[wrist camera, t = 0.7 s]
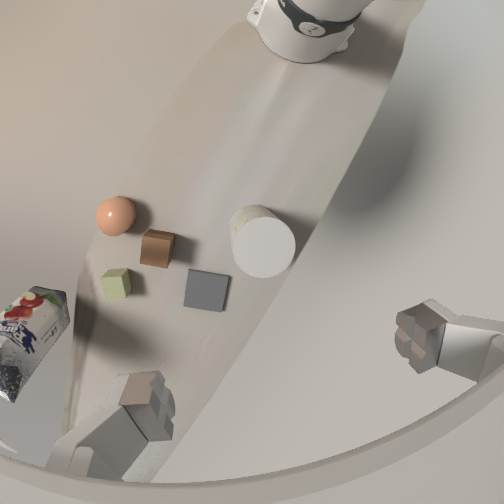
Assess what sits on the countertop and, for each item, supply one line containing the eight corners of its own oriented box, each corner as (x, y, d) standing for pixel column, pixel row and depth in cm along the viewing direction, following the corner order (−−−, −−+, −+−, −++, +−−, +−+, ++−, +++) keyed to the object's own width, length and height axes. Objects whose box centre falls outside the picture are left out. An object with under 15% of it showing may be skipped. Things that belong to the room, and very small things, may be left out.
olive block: (108, 269, 47) (100, 277, 43) (128, 268, 47) (121, 276, 43) (112, 289, 48) (105, 299, 44) (132, 288, 48) (126, 298, 45)
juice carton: (75, 326, 49) (15, 414, 23) (38, 317, 48) (-27, 392, 22) (69, 287, 47) (-7, 369, 21) (31, 280, 45) (-48, 347, 19)
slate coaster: (189, 268, 48) (188, 270, 48) (228, 275, 50) (228, 277, 49) (183, 304, 50) (183, 306, 50) (221, 310, 51) (221, 312, 51)
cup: (278, 205, 47) (297, 217, 36) (275, 251, 49) (292, 277, 38) (229, 204, 46) (233, 216, 35) (228, 252, 48) (232, 278, 37)
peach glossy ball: (107, 194, 43) (98, 196, 39) (138, 198, 44) (131, 201, 40) (103, 227, 45) (94, 233, 41) (134, 233, 46) (127, 239, 42)
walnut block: (149, 228, 46) (142, 235, 41) (175, 233, 47) (170, 240, 42) (147, 254, 47) (139, 263, 42) (171, 258, 48) (167, 268, 43)
